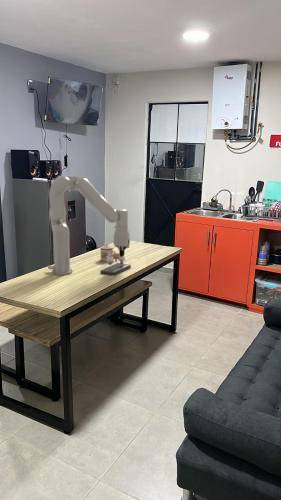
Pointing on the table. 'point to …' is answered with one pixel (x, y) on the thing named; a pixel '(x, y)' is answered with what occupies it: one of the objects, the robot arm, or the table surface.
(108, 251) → the teacup with lid
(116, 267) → the mount plate
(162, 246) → the table surface
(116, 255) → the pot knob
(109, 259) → the knob near
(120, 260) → the knob far
